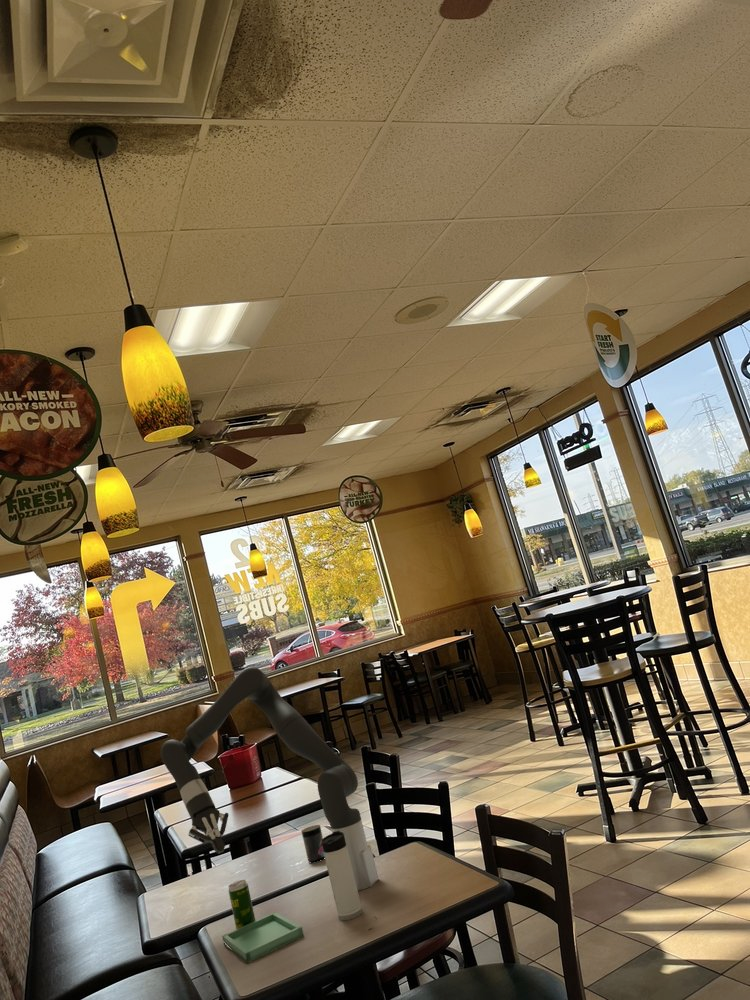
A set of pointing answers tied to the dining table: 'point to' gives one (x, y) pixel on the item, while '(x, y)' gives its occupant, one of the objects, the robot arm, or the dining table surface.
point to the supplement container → (313, 843)
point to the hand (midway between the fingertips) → (221, 851)
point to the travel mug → (341, 876)
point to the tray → (262, 936)
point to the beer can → (241, 903)
